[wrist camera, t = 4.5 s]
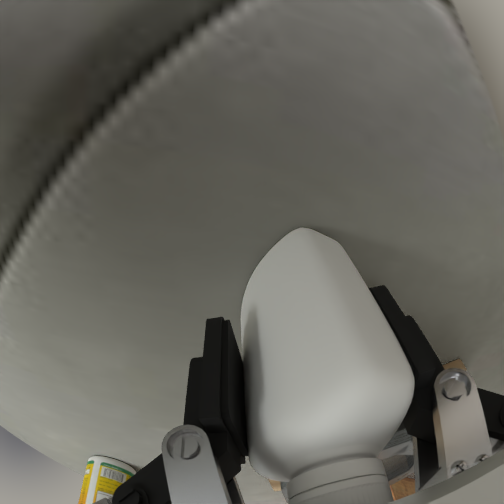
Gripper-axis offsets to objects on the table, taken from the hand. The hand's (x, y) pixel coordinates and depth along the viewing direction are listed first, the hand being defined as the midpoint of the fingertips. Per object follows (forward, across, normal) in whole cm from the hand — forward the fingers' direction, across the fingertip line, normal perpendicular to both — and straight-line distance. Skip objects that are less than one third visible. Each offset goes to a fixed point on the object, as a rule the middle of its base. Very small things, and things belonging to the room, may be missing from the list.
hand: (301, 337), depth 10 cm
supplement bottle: (+4, +20, +20) cm, 29 cm away
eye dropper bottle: (+4, 0, 0) cm, 4 cm away
